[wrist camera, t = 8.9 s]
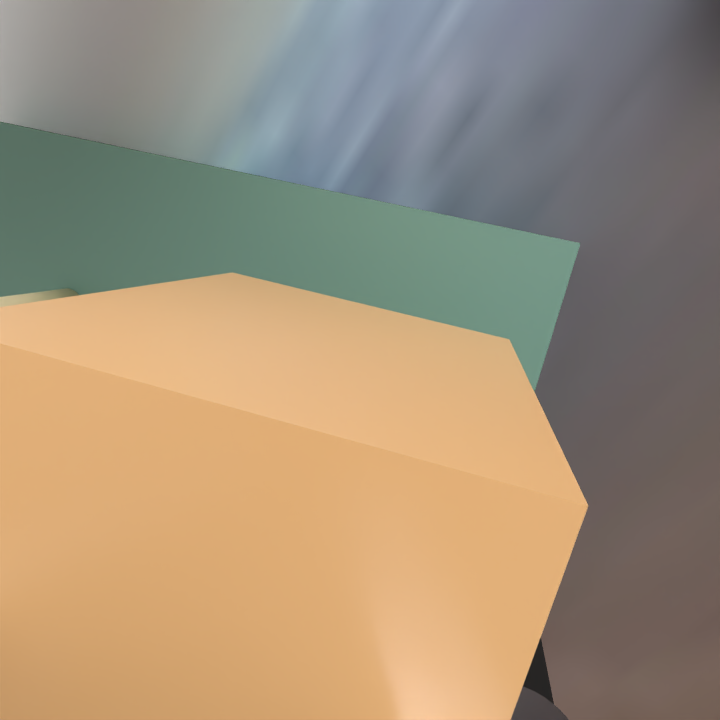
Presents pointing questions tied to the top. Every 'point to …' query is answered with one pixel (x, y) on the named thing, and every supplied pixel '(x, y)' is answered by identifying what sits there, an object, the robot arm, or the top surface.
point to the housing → (269, 509)
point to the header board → (261, 240)
